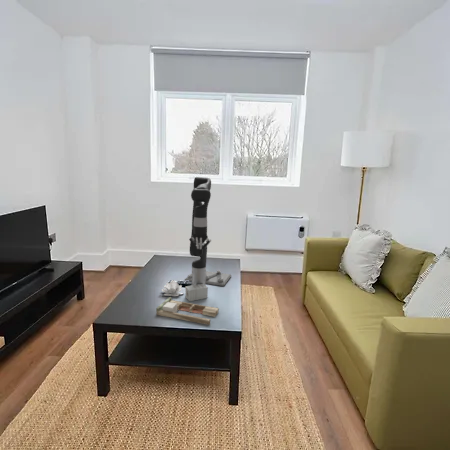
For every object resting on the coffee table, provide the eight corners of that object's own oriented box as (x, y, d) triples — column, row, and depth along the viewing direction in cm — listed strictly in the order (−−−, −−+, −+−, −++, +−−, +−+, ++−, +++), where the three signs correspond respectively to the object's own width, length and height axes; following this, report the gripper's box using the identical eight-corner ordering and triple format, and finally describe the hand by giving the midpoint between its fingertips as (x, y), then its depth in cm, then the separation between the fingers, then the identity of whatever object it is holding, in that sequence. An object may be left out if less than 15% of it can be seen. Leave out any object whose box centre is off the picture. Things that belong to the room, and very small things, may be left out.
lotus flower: (188, 294, 206) (188, 281, 204) (170, 301, 195) (170, 287, 193) (174, 287, 215) (174, 275, 214) (156, 294, 204) (156, 281, 202)
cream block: (167, 310, 183) (167, 301, 182) (177, 311, 182) (177, 303, 181) (162, 314, 178) (162, 306, 177) (172, 316, 176) (172, 308, 175)
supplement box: (184, 297, 201) (203, 293, 207) (189, 301, 195) (207, 298, 201) (185, 286, 200) (203, 283, 206) (189, 290, 193) (208, 287, 199)
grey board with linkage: (231, 277, 240) (232, 268, 239) (223, 287, 220) (224, 277, 218) (194, 272, 248) (194, 263, 247) (183, 281, 228) (183, 272, 226)
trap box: (169, 303, 191) (169, 297, 191) (218, 312, 182) (218, 305, 182) (156, 314, 177) (156, 308, 176) (209, 324, 168) (209, 317, 167)
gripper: (213, 224, 177) (213, 254, 181) (192, 222, 181) (191, 252, 184) (209, 227, 170) (208, 258, 173) (186, 225, 174) (186, 255, 177)
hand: (199, 255), depth 179 cm, fingers closed
